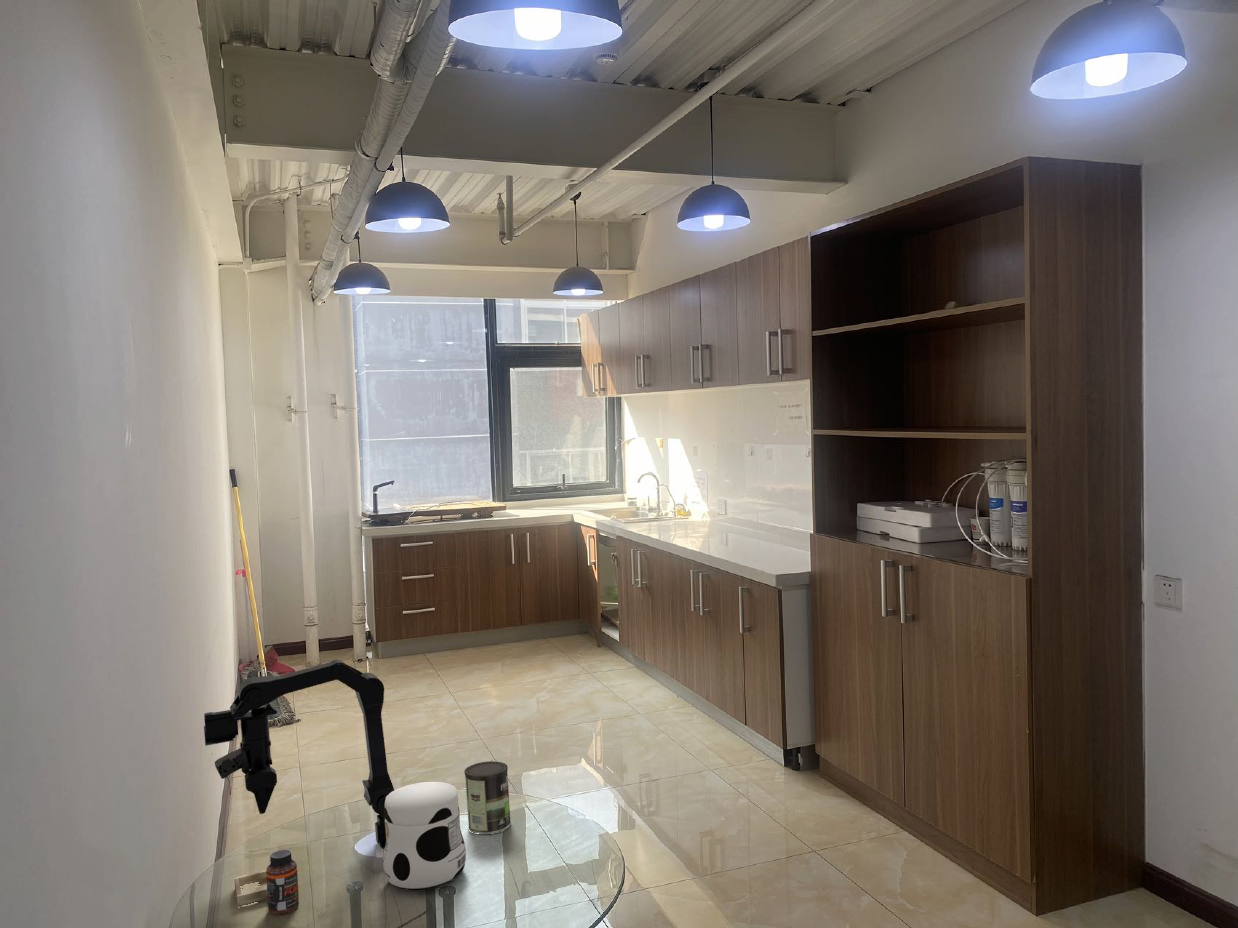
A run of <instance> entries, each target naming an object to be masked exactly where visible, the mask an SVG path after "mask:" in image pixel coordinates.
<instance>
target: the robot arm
mask: <svg viewBox="0 0 1238 928" xmlns="http://www.w3.org/2000/svg"><path fill="white" fill-rule="evenodd" d="M334 681H339V682H340V683H342V684H344V685H345V686H346V687H348V688H350V689H351V690H353V691H354V692H355V696H356V698H357V701H358V704H359V707H360V710H361V712H362V716H363V725H364V726H363V727H364V733H365V743H366V751H367V761H368V769H369V773H368V779H363V780H362V781H361V782H362V784H363V788H364V789H363V790H364V793H363V798H364V799H365V802H366V803H367V805H368V806H370V807H371V809H372V811H374V813H375V814H377V815H376V822H375V823H374V828H375V830H374V831H375V840H376V842H377V844H379V846H380V848H381V849H385V845H386V829H385V814H384V808H385V800H386V796H388V795H389V794H390V793H391V792H392V791H394V790H395V789H394V784H393V783H392V782H393V781H392V780H391V776H390V774H389V771H388V770H389V769H388V762H387V754H386V745H385V736H384V734H385V733H384V727H383V726H384V725H383V718H382V717H383V716H382V711H383V707H384V702H385V700H384V699H385V686H384V684H383V682H382V681H381V679H379V678H378V676H377V675H376V674H374V673H372V672H362V671H360V670H358V669H356V668H355V667H353V666H351V665H348V664H346V663H345V662H344V661H343V660H342V659H334V660H331V661H330V662H326V663H321V664H319V665H315V666H312V667H308V668H303V669H301V670H297V671H293V672H289V673H285V674H281V675H263V676H262V675H261V676H255V677H254V676H252V677H248V678H246V679H243V681H241V684H239V685H238V689H237V694H238V695H237V696H236V697H235V699H234V700H233V702H232V703H231V705H230V706H229V709H227V710H226V709H225V710H221V711H214V712H213V711H212V712H211V711H209V712H205V713H204V714H203V716H204V719H203V720H204V725H203V733H204V734H203V735H204V745H205V747H206V746H207V747H208V746H213V745H219V744H223V743H228V742H233V741H234V739H237V737H236V736H239V723H238V721H240V729H241V730H240V731H241V741H240V742H239V748H238V749H236V750H234V751H231V752H229V753H227V754H225V755H223V756H222V757H220V758H217V759H216V760H215V761H214V767H215V768H216V771H217V772H218V774H219V777H220V778H221V779H222V780H223V779H227V778H228V777H229V776H230V775H232V774H234V773H235V772H237V771H239V770H241V772H242V773H243V774H245V775H244V785H245V790H246V791H248V792H250V793H252V794H253V795H254V799H255V802H256V806H257V809H258V813H259V815H263V814H265V813H266V811H267V808H268V806H269V803H270V801H271V798H272V796H273V795H272V794H273V792H274V790H275V787H276V785H277V783H278V777H277V776H278V775H277V772H276V771H277V770H276V769H275V768H273V767H271V765H273V759H272V753H271V752H272V751H271V746H272V741H271V739H270V724H269V716H273V715H277V714H278V710H277V708H276V707H275V706H273V705H272V704H271V703H272V702H274V701H275V700H277V699H278V698H280V697H283V696H284V695H287V694H291V693H294V692H297V691H301V690H305V689H308V688H313V687H315V686H319V685H322V684H323V685H324V684H326V683H330V682H334Z"/></svg>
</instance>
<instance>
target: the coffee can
mask: <svg viewBox="0 0 1238 928" xmlns="http://www.w3.org/2000/svg"><path fill="white" fill-rule="evenodd" d="M508 769H509V768H508V765H507V764H506V763H504V762H501V761H490V760H489V761H482V762H477V763H473V764H472V765H469V766H467V767H466V768H465V769H464V776H465V777H464V779H465V791H466V793H465V795H466V806H467V807H466V809H467V822H468V825H467V826H468V828H469V829H468V828H467V829H468V831H469V830H470V831H471V832H473V833H479V834H482V835H481V836H484V835H483V834H491V835H493V834H492V833H497V834H500V833H502V832H501V831H503V830H505V831H506V830H508V829H509V828H510V827H511V826H512V821H511V810H510V806H511V805H510V793H509V780H508V778H509V777H508ZM507 828H508V829H507ZM470 831H469V832H470ZM471 832H470V833H471ZM499 832H500V833H499ZM503 832H504V831H503ZM473 833H472V834H473Z"/></svg>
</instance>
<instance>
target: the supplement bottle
mask: <svg viewBox="0 0 1238 928" xmlns="http://www.w3.org/2000/svg"><path fill="white" fill-rule="evenodd" d="M269 858H270V860H269V862H270V863H269V865H267V867H266V869H265V870H266V881H267V898H268V901H267V908H268V910H267V911H268V912H269V913H270V914H272V915H286V914H289V913H291V912H293V911H295V910H296V909H297V908H298V907H299V904H300V901H299V900H300V897H299V879H298V865H297V862H296V861H295V860H293V859H292V852H291V850H289V849H281V850H277V851H274V852H272V853H271V854H270V856H269Z"/></svg>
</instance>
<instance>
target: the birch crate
mask: <svg viewBox="0 0 1238 928" xmlns="http://www.w3.org/2000/svg"><path fill="white" fill-rule="evenodd" d="M233 879H234V892H235V891H236V892H235V898H236V897H237V898H236V903H237V904H238V905H237V908H238V907H241V906H243V905H248V904H251V903H254V902H258V903H259V904H261V902H262V903H265V902H268V898H267V881H266V869H264V870H259V871H256V872H252V873H248V874H244V875H239V876H236V877H234V878H233ZM255 882H259V883H258V884H260V885H258V886H260V887H257V888H255V889H256V890H253V891H248V892H247V891H245V892H247V893H243V892H244V891H243V890H240V889H241V888H240V886H243V885H245V884H250V883H255ZM242 889H243V888H242ZM241 892H242V893H241Z"/></svg>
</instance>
